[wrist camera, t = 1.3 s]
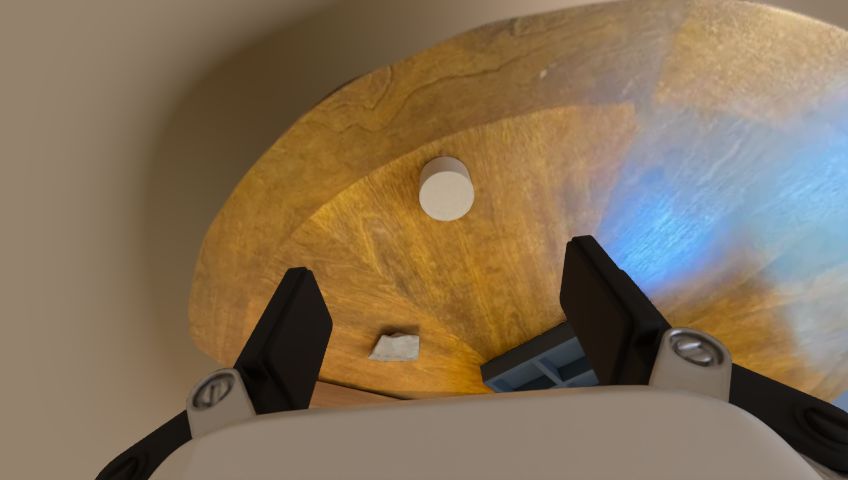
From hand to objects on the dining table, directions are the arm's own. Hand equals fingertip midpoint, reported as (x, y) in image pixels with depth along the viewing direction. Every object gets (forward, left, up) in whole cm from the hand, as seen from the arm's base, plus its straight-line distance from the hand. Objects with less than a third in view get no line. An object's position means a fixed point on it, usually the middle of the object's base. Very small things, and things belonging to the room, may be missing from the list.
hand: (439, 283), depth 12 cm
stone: (+19, +15, -18) cm, 30 cm away
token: (+1, +3, -18) cm, 18 cm away
